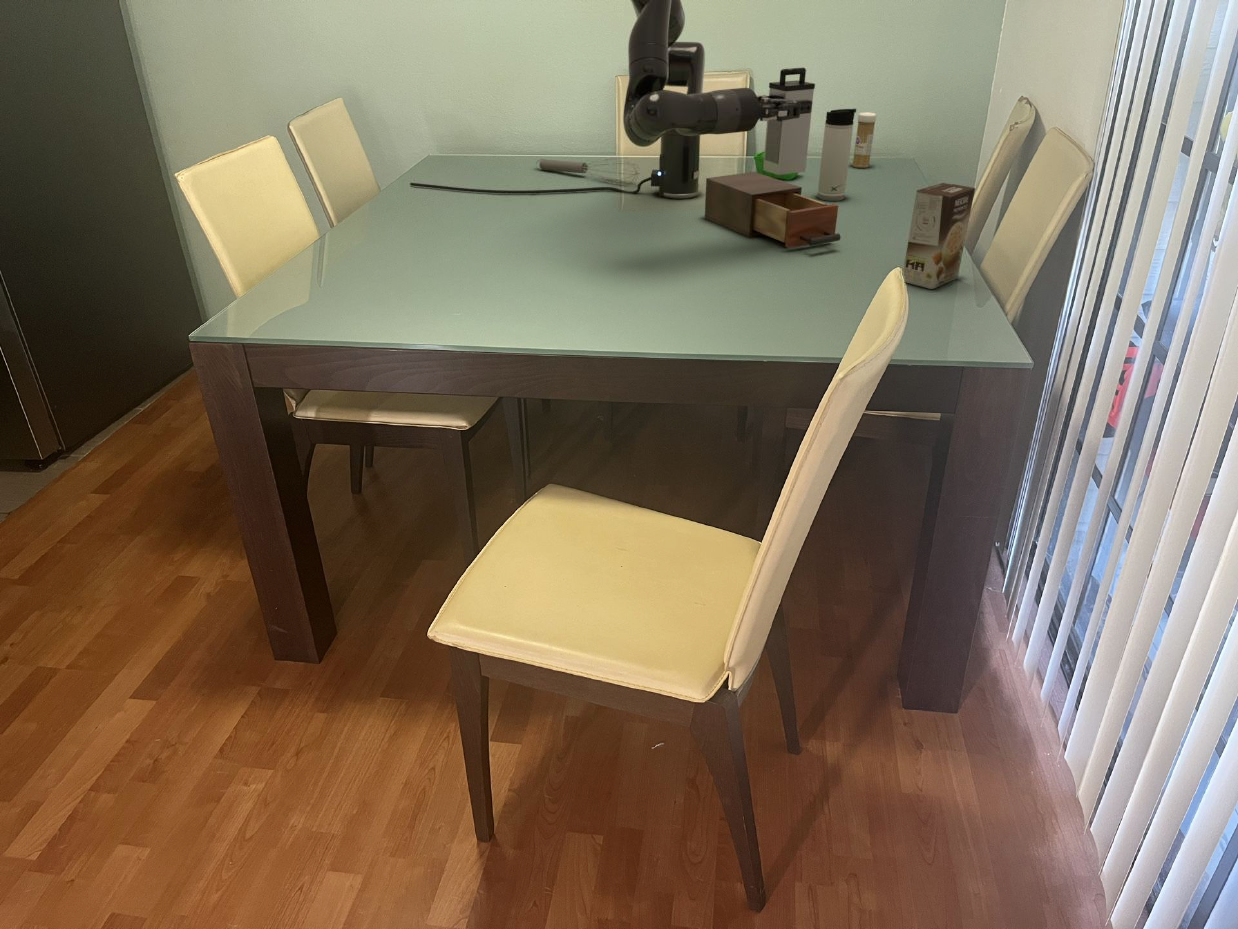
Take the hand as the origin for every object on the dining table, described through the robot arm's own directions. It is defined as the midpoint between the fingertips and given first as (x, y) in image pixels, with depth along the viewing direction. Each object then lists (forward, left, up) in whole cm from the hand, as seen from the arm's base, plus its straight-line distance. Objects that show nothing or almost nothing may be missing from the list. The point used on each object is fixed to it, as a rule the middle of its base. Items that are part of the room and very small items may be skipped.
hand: (800, 104), depth 170 cm
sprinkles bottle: (+23, +69, -26) cm, 77 cm away
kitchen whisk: (-49, +50, -26) cm, 74 cm away
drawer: (+1, -2, -25) cm, 25 cm away
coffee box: (+24, -24, -26) cm, 42 cm away
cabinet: (-8, +11, -26) cm, 29 cm away
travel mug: (+12, +34, -26) cm, 45 cm away
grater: (-2, -2, -12) cm, 12 cm away
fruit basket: (0, +55, -26) cm, 61 cm away
